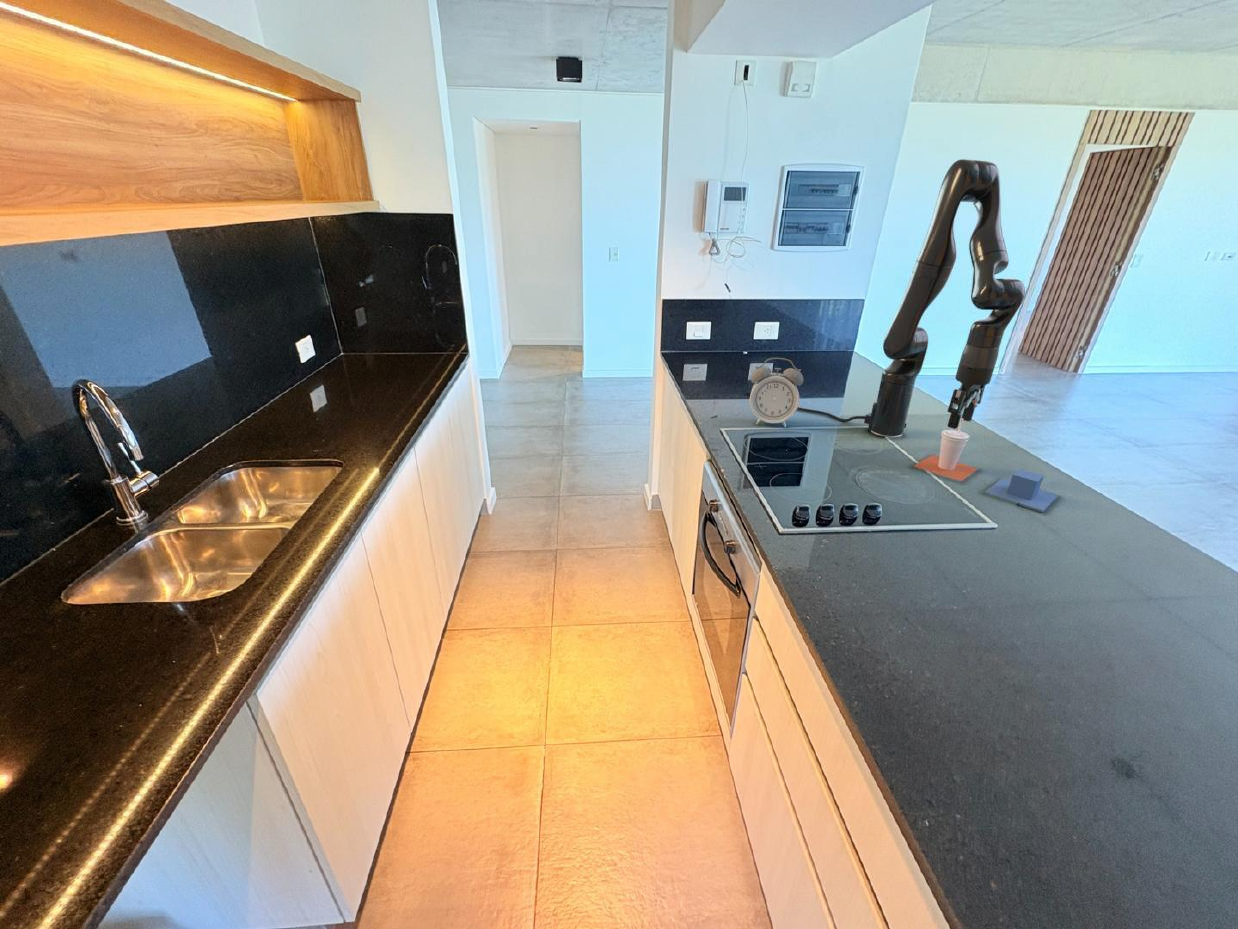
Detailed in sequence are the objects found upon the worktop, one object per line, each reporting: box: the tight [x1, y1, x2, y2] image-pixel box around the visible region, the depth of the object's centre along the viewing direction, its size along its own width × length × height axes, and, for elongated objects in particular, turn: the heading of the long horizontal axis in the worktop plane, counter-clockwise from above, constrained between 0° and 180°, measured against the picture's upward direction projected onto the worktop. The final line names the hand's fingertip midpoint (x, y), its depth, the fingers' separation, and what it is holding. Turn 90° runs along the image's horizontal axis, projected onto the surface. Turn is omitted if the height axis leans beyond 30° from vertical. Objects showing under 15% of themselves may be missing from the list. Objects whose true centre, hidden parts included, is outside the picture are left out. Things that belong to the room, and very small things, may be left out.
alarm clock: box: [749, 357, 804, 428], centre depth 171 cm, size 16×9×22 cm, turn 74°
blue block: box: [1007, 468, 1045, 500], centre depth 128 cm, size 5×5×5 cm
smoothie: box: [938, 417, 970, 470], centre depth 140 cm, size 6×6×14 cm
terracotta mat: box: [913, 454, 979, 482], centre depth 143 cm, size 12×12×1 cm
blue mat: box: [984, 478, 1059, 514], centre depth 129 cm, size 12×12×1 cm
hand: (959, 424), depth 138 cm, fingers open, 8 cm apart
